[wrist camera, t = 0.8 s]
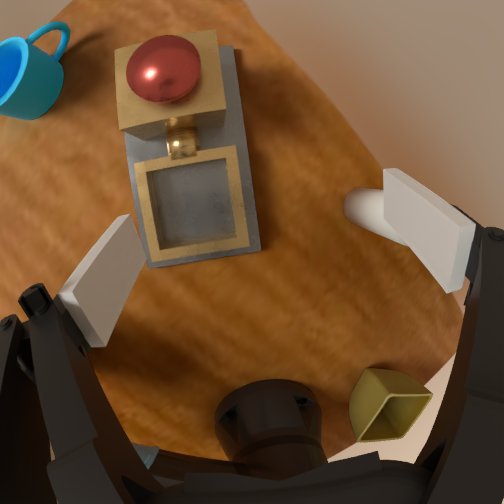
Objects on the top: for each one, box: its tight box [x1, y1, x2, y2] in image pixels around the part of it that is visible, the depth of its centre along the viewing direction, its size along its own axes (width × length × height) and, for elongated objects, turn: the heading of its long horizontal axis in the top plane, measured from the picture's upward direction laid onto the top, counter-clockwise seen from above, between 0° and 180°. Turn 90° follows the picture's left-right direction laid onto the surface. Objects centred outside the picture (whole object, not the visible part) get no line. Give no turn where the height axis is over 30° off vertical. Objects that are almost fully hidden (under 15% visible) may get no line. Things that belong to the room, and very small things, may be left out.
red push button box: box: [115, 29, 261, 269], centre depth 23 cm, size 22×12×11 cm, turn 8°
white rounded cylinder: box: [343, 187, 408, 246], centre depth 27 cm, size 4×4×10 cm
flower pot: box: [349, 368, 433, 442], centre depth 35 cm, size 9×9×9 cm
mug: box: [0, 21, 70, 120], centre depth 20 cm, size 12×8×8 cm
